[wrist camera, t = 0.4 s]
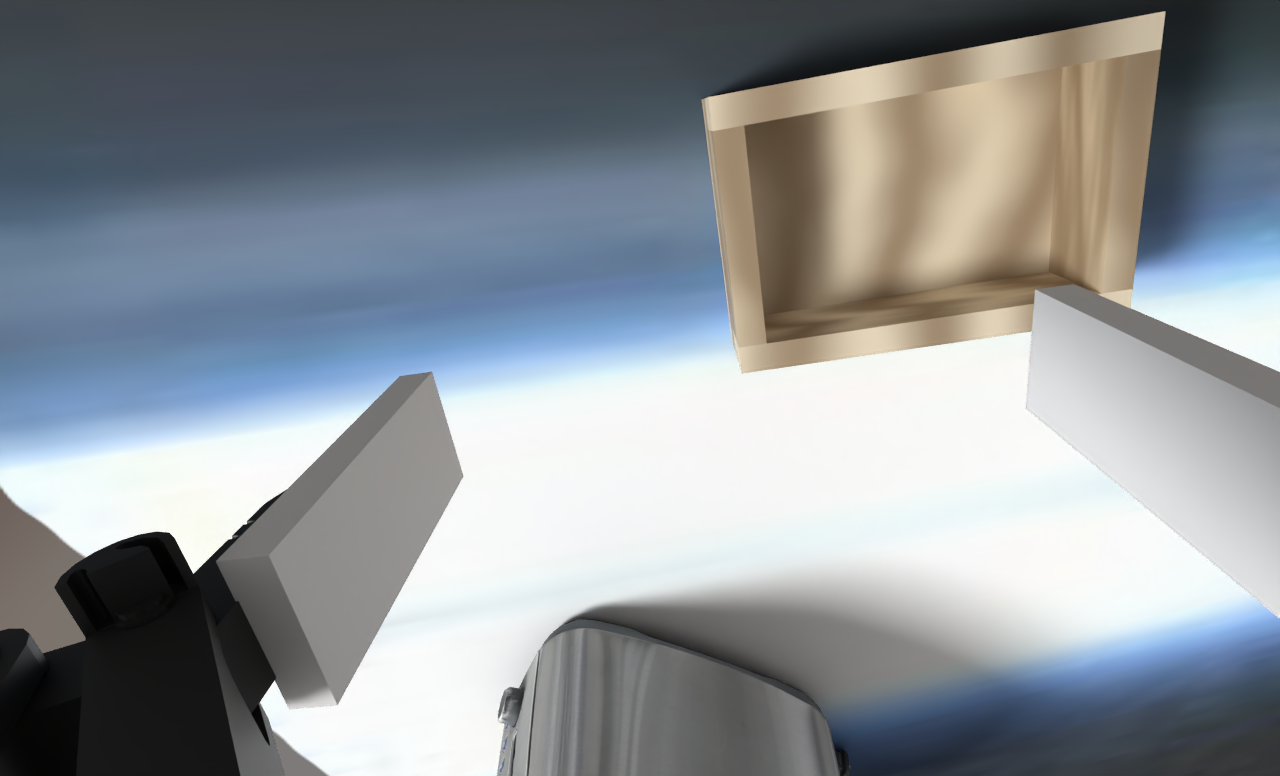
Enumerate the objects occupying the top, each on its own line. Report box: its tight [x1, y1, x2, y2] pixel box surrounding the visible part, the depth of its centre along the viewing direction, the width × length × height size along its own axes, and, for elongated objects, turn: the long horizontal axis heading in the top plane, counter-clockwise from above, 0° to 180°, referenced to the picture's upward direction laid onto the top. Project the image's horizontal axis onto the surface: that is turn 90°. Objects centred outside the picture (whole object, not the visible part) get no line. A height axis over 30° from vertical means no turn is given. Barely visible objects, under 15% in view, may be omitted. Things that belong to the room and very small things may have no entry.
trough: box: [702, 11, 1166, 373], centre depth 35 cm, size 20×14×6 cm
